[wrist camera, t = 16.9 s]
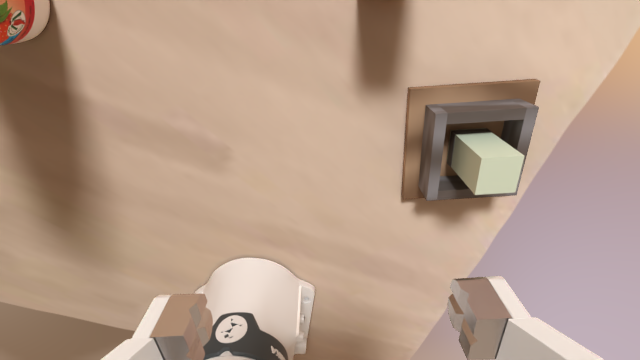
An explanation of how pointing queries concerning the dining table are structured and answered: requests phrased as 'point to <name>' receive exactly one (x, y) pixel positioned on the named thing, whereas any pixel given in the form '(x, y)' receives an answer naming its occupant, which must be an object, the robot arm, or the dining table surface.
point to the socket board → (461, 113)
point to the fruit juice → (22, 19)
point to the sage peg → (484, 161)
